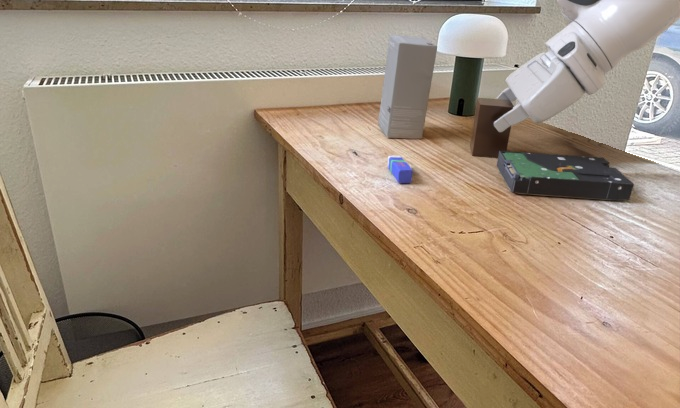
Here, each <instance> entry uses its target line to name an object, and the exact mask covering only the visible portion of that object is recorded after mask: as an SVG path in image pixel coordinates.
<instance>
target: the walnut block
mask: <svg viewBox="0 0 680 408" xmlns="http://www.w3.org/2000/svg"><path fill="white" fill-rule="evenodd" d="M514 106H515V105H514V104H513V102H511V101H510V100H503V99H496V98H491V97H489V98H488V97H477V99H476V103H475V109H474V117H473V124H472V131H471V137H470V144H469V148H470V152H471V156H473V157H484V158H494V159H498V155H499V151H508V146H509V141H510V135H511V129H512V126H510V127H508V128H507V129H506V130H504V131H503V132H498V130H497V129H496V128H495V127H494V124H493V121H494V120H495V119H497V118H498V117H499V116H500V115H504V114H506V113H507V112H509V111H510V110H512V109H513V107H514Z"/></svg>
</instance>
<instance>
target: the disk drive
mask: <svg viewBox="0 0 680 408" xmlns="http://www.w3.org/2000/svg"><path fill="white" fill-rule="evenodd" d="M496 167H497V170H498V172H499V173H500V176H501V177H502V179H503V181H504V182H505V184H506V186H507V187H508V189H509V191H510V192H511V193H516V194H519V195H531V196H541V197H544V196H545V197H562V198H574V199H575V198H576V199H589V200H601V201H602V200H603V201H630V198H631V195H632V192H633V189H634V185H635V184H634V182H633V181H632V180H630V179H629V178H628V177H627V176H625V175H624V174H623V173H622V172H621V171H620V170H618V168H616V167H611V166H610V162H609V161H608V160H607V159H606V158H605V157H602V156H601V157H599V156H588V155H584V156H582V155H571V154H556V153H539V152H525V151H508V150H507V151H499V155H498V158H497V161H496Z"/></svg>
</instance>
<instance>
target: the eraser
mask: <svg viewBox="0 0 680 408" xmlns="http://www.w3.org/2000/svg"><path fill="white" fill-rule="evenodd" d="M387 169H388V171H389V172H390V173H391V174H392V175H393V176H394V178H395V180H396V181H397V183H398V184H411V183H412V181H413V173H414V172H413V169H412V168H411V166H410V165H409V164H408V163H407V161H406V160H405V159H403V157H402V156H401V154H400V155H399V154H398V155H388V156H387Z"/></svg>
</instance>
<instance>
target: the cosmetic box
mask: <svg viewBox="0 0 680 408" xmlns="http://www.w3.org/2000/svg"><path fill="white" fill-rule="evenodd" d="M388 38H389V39H388V47H387V53H386V59H385V60H386V61H385V67H384V68H385V69H384V76H383V84H382V91H381V100H380V106H379V114H378V120H377V125H378V127H379V128H380V130H381V131H382V133H383V134H384V136H385V137H386V138H387V139H414V140H415V139H417V140H419V139H423V135H424V129H425V122H426V117H427V110H428V104H429V98H430V92H431V85H432V81H433V75H434V68H435V64H436V57H437V51H438V45H437V44H435V43H434V42H433V41H432V40H429V39H427V38H426V37H423V36H410V35H401V34H390V35H389V37H388Z"/></svg>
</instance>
